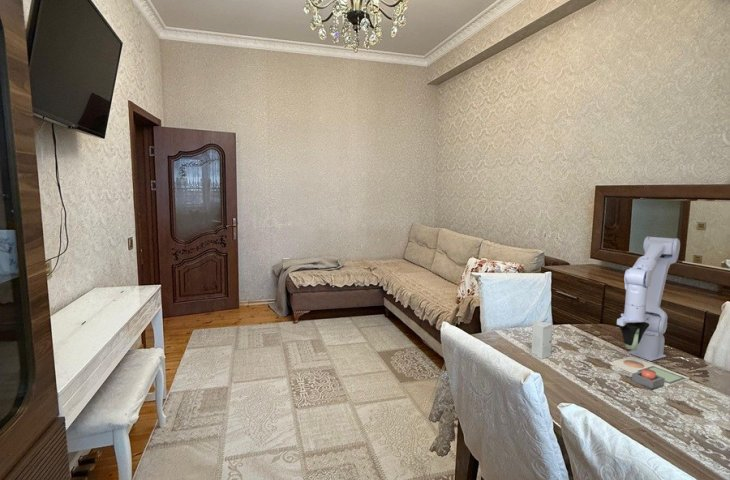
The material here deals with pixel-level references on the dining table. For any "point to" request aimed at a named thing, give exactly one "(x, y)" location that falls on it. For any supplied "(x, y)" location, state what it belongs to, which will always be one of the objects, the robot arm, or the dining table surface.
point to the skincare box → (541, 339)
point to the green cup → (634, 342)
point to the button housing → (648, 381)
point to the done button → (648, 374)
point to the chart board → (637, 365)
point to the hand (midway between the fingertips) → (631, 343)
